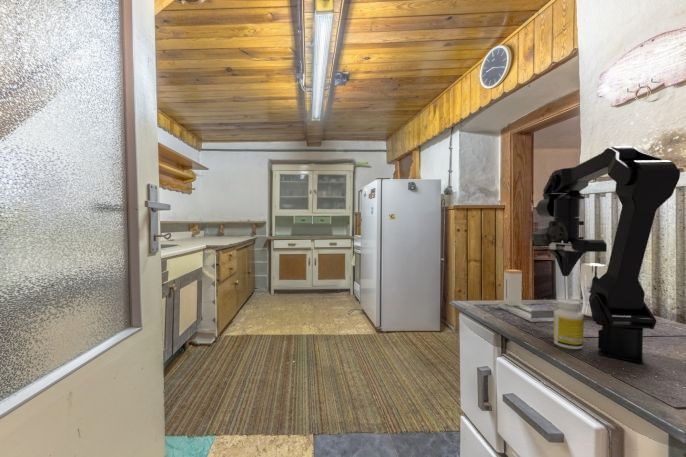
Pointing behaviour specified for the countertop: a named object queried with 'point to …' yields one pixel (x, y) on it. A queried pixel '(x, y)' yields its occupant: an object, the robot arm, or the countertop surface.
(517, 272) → the white rectangular canister
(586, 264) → the beer glass
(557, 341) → the supplement bottle
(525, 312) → the fader rail
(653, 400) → the countertop surface
